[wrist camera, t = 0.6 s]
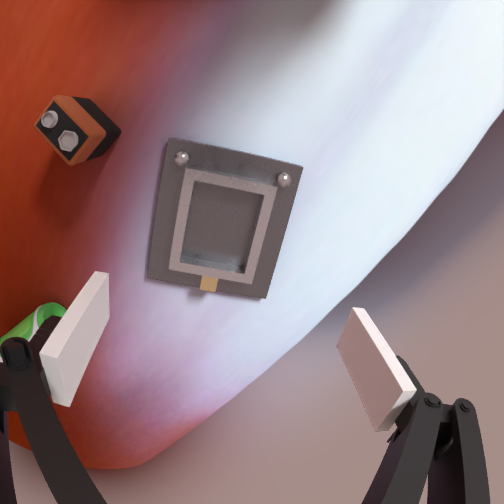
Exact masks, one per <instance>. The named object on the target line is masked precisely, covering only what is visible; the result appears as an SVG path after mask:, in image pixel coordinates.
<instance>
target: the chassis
mask: <svg viewBox="0 0 504 504" xmlns="http://www.w3.org/2000/svg"><path fill="white" fill-rule="evenodd" d="M302 170H303V167H302V166H300V165H296V164H292V163H288V162H284V161H280V160H276V159H272V158H268V157H264V156H259V155H255V154H251V153H246V152H242V151H237V150H233V149H228V148H223V147H218V146H213V145H208V144H203V143H198V142H192V141H187V140H181V139H176V138H169V140H168V145H167V150H166V155H165V161H164V166H163V172H162V177H161V183H160V189H159V195H158V201H157V208H156V214H155V221H154V228H153V235H152V243H151V251H150V259H149V268H148V278H152V279H157V280H162V281H167V282H173V283H178V284H183V285H189V286H194V287H200V290H204V291H210V292H216V290H217V291H222V292H228V293H234V294H240V295H246V296H252V297H258V298H264V299H266V296H267V293H268V290H269V286H270V283H271V279H272V276H273V273H274V269H275V266H276V262H277V259H278V255H279V252H280V249H281V245H282V242H283V238H284V235H285V231H286V228H287V224H288V221H289V217H290V213H291V210H292V206H293V203H294V199H295V195H296V192H297V188H298V185H299V181H300V177H301V174H302Z"/></svg>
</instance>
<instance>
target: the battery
mask: <svg viewBox="0 0 504 504" xmlns="http://www.w3.org/2000/svg"><path fill="white" fill-rule="evenodd" d="M34 128H35V130H36V131H37V132H38V133H39V134H40V135H41V136H42V138H43V139H44V140H45V141H46V142H47V143H48V144H49V145H50V146H51V147H52V148H53V149H54V150H55V152H56V153H57V154H58V155H59V156H60V157H61V158H62V159H63V160H64V161H65V162H66V163H67V164H68V165H70V166H72V165H75V164H78V163H81V162H84V161H87V160H90V159H93V158H96V157H99V156H102V155H103V153H104V152H105V151H106V150H107V149H108V148H109V146H110V145H111V144H112V143H113V142H114V141H115V140H116V138H117V137H118V136H119V135H120V134H121V130H120V129H119V128H118V127H117V126H116V125H115V124H114V123H113V122H112V121H111V120H110V119H109V118H108V117H107V116H106V115H105V114H104V113H103V112H102V111H101V110H100V109H99V108H98V107H97V106H96V105H95V104H94V103H93V102H92V101H91V100H90V99H87V98H79V97H70V96H61V95H55V96H54V97H53V98H52V100H51V101H50V102H49V104H48V105H47V106H46V108H45V109H44V110H43V112H42V113H41V115H40V116H39V117H38V119H37V120H36V122H35V123H34Z"/></svg>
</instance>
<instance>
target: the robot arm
mask: <svg viewBox="0 0 504 504" xmlns="http://www.w3.org/2000/svg"><path fill="white" fill-rule="evenodd" d="M109 318H110V315H109V273H103V272H98V271H95V272H94V273H93V275H92V276H91V277H90V279H89V280H88V282H87V283H86V284H85V286H84V287H83V288H82V290H81V291H80V293H79V294H78V295H77V297H76V298H75V300H74V301H73V303H72V304H71V305H70V307H69V308H68V310H67V311H66V313H65V314H64V316H63V317H59V316H55V315H52V316H50V317H49V318H47V319H45V320H44V321H43V323H42V324H41V326H40V327H39V329H38V330H37V331H36V333H35V334H34V335H33V337H32V338H31V340H30V341H28V340H26V339H25V338H22V337H11V338H8V339H6V340H5V341H4V342H2V344H1V346H0V354H1V357H2V360H3V362H0V504H17V501H16V495H15V490H14V484H13V477H12V469H11V461H10V451H9V440H8V423H7V411H17V412H18V414H19V417H20V420H21V423H22V425H23V428H24V431H25V433H26V436H27V439H28V441H29V444H30V446H31V449H32V451H33V453H34V456H35V458H36V460H37V463H38V465H39V467H40V469H41V472H42V474H43V475H44V478H45V480H46V482H47V484H48V486H49V488H50V490H51V492H52V494H53V496H54V498H55V500H56V501H57V503H58V504H107V503H106V501H105V500H104V499H103V497H102V495H101V494H100V493H99V491H98V489H97V488H96V486H95V485H94V483H93V482H92V480H91V478H90V477H89V475H88V473H87V472H86V470H85V468H84V467H83V465H82V463H81V461H80V460H79V458H78V456H77V454H76V452H75V451H74V449H73V447H72V445H71V443H70V441H69V439H68V437H67V435H66V433H65V431H64V429H63V427H62V425H61V423H60V421H59V419H58V417H57V415H56V412H55V410H54V408H53V406H52V403H51V401H50V399H49V396H50V394H51V397H52V400H53V402H54V403H57V404H60V405H64V406H67V407H70V405H71V403H72V400H73V398H74V395H75V393H76V390H77V388H78V386H79V383H80V381H81V379H82V376H83V374H84V372H85V369H86V367H87V365H88V363H89V360H90V358H91V356H92V354H93V352H94V349H95V347H96V345H97V343H98V341H99V339H100V337H101V334H102V332H103V330H104V328H105V326H106V324H107V322H108V320H109ZM337 348H338V350H339V352H340V354H341V357H342V359H343V361H344V363H345V365H346V368H347V370H348V372H349V374H350V376H351V378H352V381H353V383H354V385H355V387H356V389H357V392H358V394H359V396H360V398H361V401H362V403H363V405H364V407H365V409H366V412H367V414H368V416H369V419H370V421H371V423H372V426H373V428H374V430H375V432H379V431H386V430H389V429H390V428H391V426H392V425H393V424H394V422H395V423H396V425H397V427H398V428H397V429H396V430H395V432H394V433H393V434H392V436H391V437H390V438H389V439H388V441H387V442H388V443H389V441H390V440H391V441H390V444H389V446H388V449H387V451H386V453H385V455H384V458H383V460H382V462H381V465H380V467H379V469H378V471H377V473H376V475H375V478H374V480H373V482H372V484H371V486H370V488H369V490H368V492H367V494H366V496H365V498H364V500H363V502H362V504H418V503H419V501H420V498H421V495H422V492H423V488H424V485H425V482H426V478H427V475H428V497H427V504H490V496H489V485H488V477H487V469H486V462H485V456H484V450H483V444H482V439H481V433H480V428H479V424H478V419H477V415H476V410H475V407H474V406H473V404H472V403H471V402H470V401H468V400H466V399H464V398H459V399H457V400H456V401H455V403H454V404H453V405H447V404H442V402H441V400H440V399H439V398H438V397H437V396H435V395H434V394H431V393H426V392H425V391H424V389H423V388H422V386H421V385H420V383H419V382H418V380H417V379H416V377H415V375H414V374H413V372H412V371H411V370H410V368H409V366H408V365H407V363H406V362H405V361H404V360H403V359H402V358H401V357H400V356H395V355H394V353H393V352H392V350H391V349H390V347H389V345H388V344H387V342H386V341H385V339H384V338H383V336H382V335H381V333H380V332H379V330H378V329H377V327H376V326H375V324H374V323H373V321H372V320H371V318H370V317H369V316H368V314H367V312H366V311H365V309H363V308H352V309H351V312H350V315H349V317H348V320H347V322H346V324H345V327H344V330H343V332H342V334H341V337H340V339H339V342H338V344H337Z"/></svg>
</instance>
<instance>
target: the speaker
mask: <svg viewBox="0 0 504 504" xmlns="http://www.w3.org/2000/svg"><path fill="white" fill-rule="evenodd" d="M66 311H67V310H66V309H65V308H64V307H63V306H61V305H60V304H58V303H54V302H51V303H47V304H44V305H41V306H39V307H38V308H37V309H36V310H35V311H34V312H33V313H31V314H30V315H29V316H28V317H26V318H25V319H24V320H23V321H21V322H20V323H19V324H18V325H17V326H15V327H14V328H13V329H12V330H10V331H9V332H8V333H7V334H5V335H4V336H2V337H1V338H0V346H1V344H2V342H4V341H5V340H6V339H8V338H11V337H22V338H25V339H26V340H28V341H30V340H31V338H32V337H33V335H34V334H35V333H36V331H37V330H38V329H39V327H40V326H41V324H42V323H43V321H44V320H45V319H47V318H49V317H50V316H52V315H55V316H59V317H63V316H64V314H65V313H66ZM0 362H3V360H2V357H1V354H0Z"/></svg>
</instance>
